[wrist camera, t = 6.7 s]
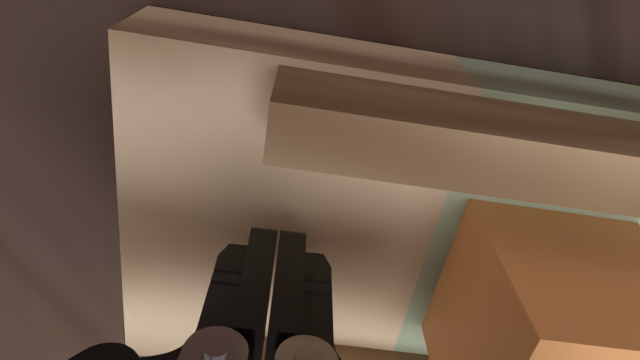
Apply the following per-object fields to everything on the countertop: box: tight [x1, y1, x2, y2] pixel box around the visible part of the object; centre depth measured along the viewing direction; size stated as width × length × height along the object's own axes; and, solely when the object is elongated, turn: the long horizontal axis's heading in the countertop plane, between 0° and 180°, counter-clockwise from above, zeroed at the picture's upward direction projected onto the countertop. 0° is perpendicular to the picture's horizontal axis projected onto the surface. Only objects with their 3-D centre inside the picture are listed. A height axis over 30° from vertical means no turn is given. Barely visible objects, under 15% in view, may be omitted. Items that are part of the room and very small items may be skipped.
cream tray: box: [108, 6, 640, 360], centre depth 15 cm, size 11×23×6 cm, turn 81°
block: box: [421, 198, 640, 360], centre depth 13 cm, size 5×5×5 cm
